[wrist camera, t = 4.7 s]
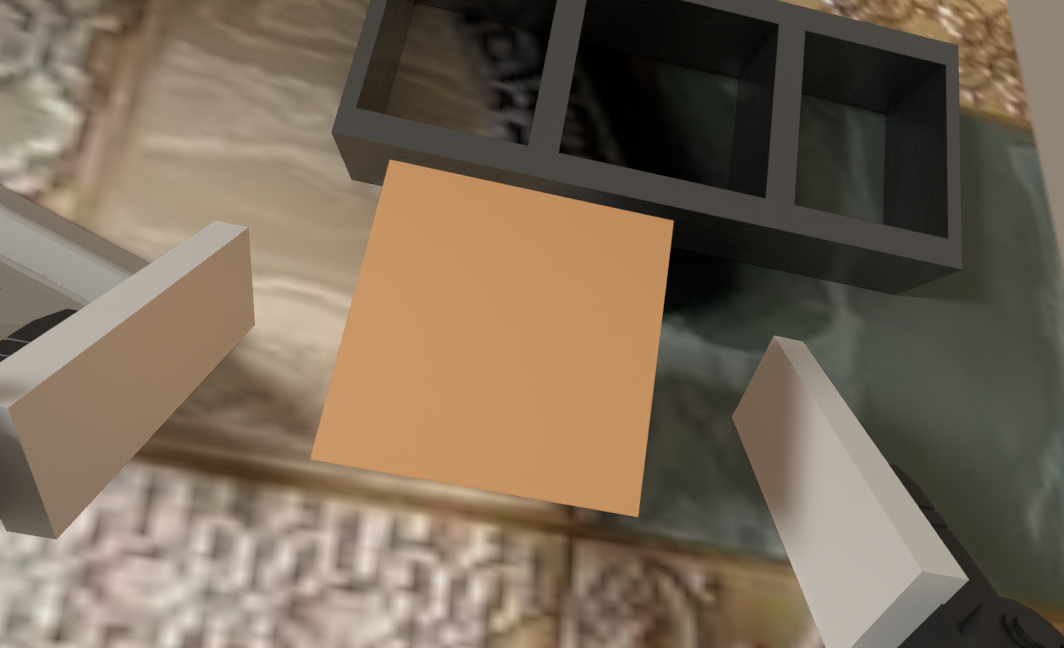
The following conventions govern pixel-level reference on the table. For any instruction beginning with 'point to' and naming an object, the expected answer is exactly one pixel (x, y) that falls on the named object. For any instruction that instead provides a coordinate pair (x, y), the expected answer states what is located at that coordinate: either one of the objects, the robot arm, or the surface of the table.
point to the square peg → (501, 342)
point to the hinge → (51, 264)
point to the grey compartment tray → (759, 136)
